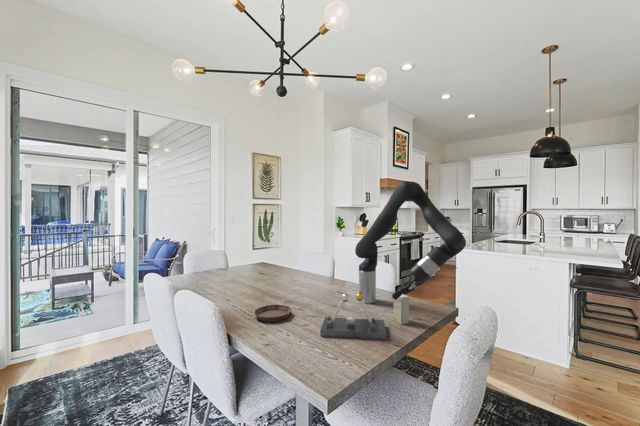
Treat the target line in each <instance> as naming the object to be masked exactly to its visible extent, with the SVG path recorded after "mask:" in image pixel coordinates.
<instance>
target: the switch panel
mask: <svg viewBox="0 0 640 426" xmlns="http://www.w3.org/2000/svg"><path fill="white" fill-rule="evenodd" d="M332 316H333V315H332ZM332 316H331V315H328V317H327V316H326V317H324V318H323V319H324V320H323V322H322V325H321V328H320V330H319V331H320V332H319V333H320V334H319V335H320V337H327V338H343V339H344V338H345V339H362V340H363V339H364V340H377V341H378V340H379V341H386V340H387V332H386V331H387V330H386V325H385V323H386V322H385V320H384V319H376V318H374V317H373V318H372V317H371V318H372V321H373V323H369V321H368V319H367V318H355V324H353V325H350V324H347V318H348V317H336V318H335V319H334V321H333V323H332V321H330V319H331V317H332Z"/></svg>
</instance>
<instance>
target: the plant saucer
mask: <svg viewBox="0 0 640 426" xmlns="http://www.w3.org/2000/svg"><path fill="white" fill-rule="evenodd" d="M253 312H254V313H253V314H254V315H255V316H256V317H257V319H259V320H260V321H262V322H279V321H283V320H285V319H286V318H288V316H289V315H290V314H291V312H292V308H291V306H289V305H284V304H270V305H263V306H260V307H258V308H257V309H254V311H253Z"/></svg>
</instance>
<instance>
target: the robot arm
mask: <svg viewBox="0 0 640 426" xmlns="http://www.w3.org/2000/svg"><path fill="white" fill-rule="evenodd" d="M406 202H413V204H416V205H417V206H418V207H419V209H420V210H421V213H422V216H423V218H424V221H425V222H426V223H427V225H429V227H430V228H431V230H433V231H434V232H435V233H436V234H437V235H438V236H439V237H440V238H441V239H442V240H443V242H444V243H442V244H441V245H440V246H435V247H433V248H432V249H431V250H429V252H428V253H427V254H426V255H424V256H423V257H421V259H419V260H418V261H417V262H416V263H415V264H414V265H413V266H412V267H410V269H409V272H410V273H411V274H410V275H408V276H405V277H404V278H403V279H402V281H401V282H400V284H398V287H397V290H396V291H394V293H392V295H391V298H392V299H393V300H394V299H395V300H397V299H398V298H399V297H400V296H401V295H402V294H404V295H407V294H409V293H411V292H412V291H414V290H415V287H416V286H417V284H418V283H419V282H420V283H422V284H425V283H426V282H427V281H428V280H429V279H431V278H432V276H433V275H435V274H436V273H437V271H438V270H439V269H440V268H441V267H442V266H443V265H444V264H445V263H447V261H449V260H450V259H452V258H454V257H455V256H456V255H458V254H460V253H461V252H462V251H463V250H464V249H465V247H466V246H467V245H466V244H467V240H466V238H465V236H464V235H463V233H462V232H461V231H460V230H459V229H458V228H457V227H456V226H455V225H454V224H453V223H451V222H450V221H449V219H447V217H446V216H444V214H443V213H442V212H441V211H440V210H439V209H438V208H437V207H436V205H435V204H434V203H433V201H432V200H431V199H430V198H429V196H428V195H427V193H426V191H425V190H424V189H423V187H422V186H421V184H419V183H418V182H415V181H404V180H403V181H400V182H399V183H397V185H396V186H395V188H394V190H393V192H392V194H391V196H390V198H389V199H388V201H387V203H386V204H385V205H384V206H383V207H384V208H382V211H381V212H380V213H379V214H378V215H377V217H376V219H375V221H373V223H372V225H371V226H370V227H369V229H368V231H367V232H366V233H365V234H364V235H363V237H362V238H361V239H360V240H359V241H358V242H357V244H356V246H355V249H354V250H355V251H354V252H355V255H356V256H357V257H358V258H360V259H364V260H363V261H362V262H361V263H359V265H358V292H361V293H362V294H363V301H364V303H365V304H375V303H376V302H377V270H376V269H377V266H378V256H379V255H378V254H379V253H378V249H379V248H378V245H377V242H378V241H380V240H381V239H382V238H385V237H386V236H387V235H388V234H389V233H390V232H391V231H392V229H393V228H394V227H395V226H396V223H397V221H398V213H399V210H400V208H401V207H402V206H403V205H404V204H405V203H406Z"/></svg>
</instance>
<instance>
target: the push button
mask: <svg viewBox="0 0 640 426" xmlns="http://www.w3.org/2000/svg"><path fill="white" fill-rule="evenodd" d="M346 318H347V324H350V325H353V324H355V319H356V318H355V317H353V316H348V317H346Z"/></svg>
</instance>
